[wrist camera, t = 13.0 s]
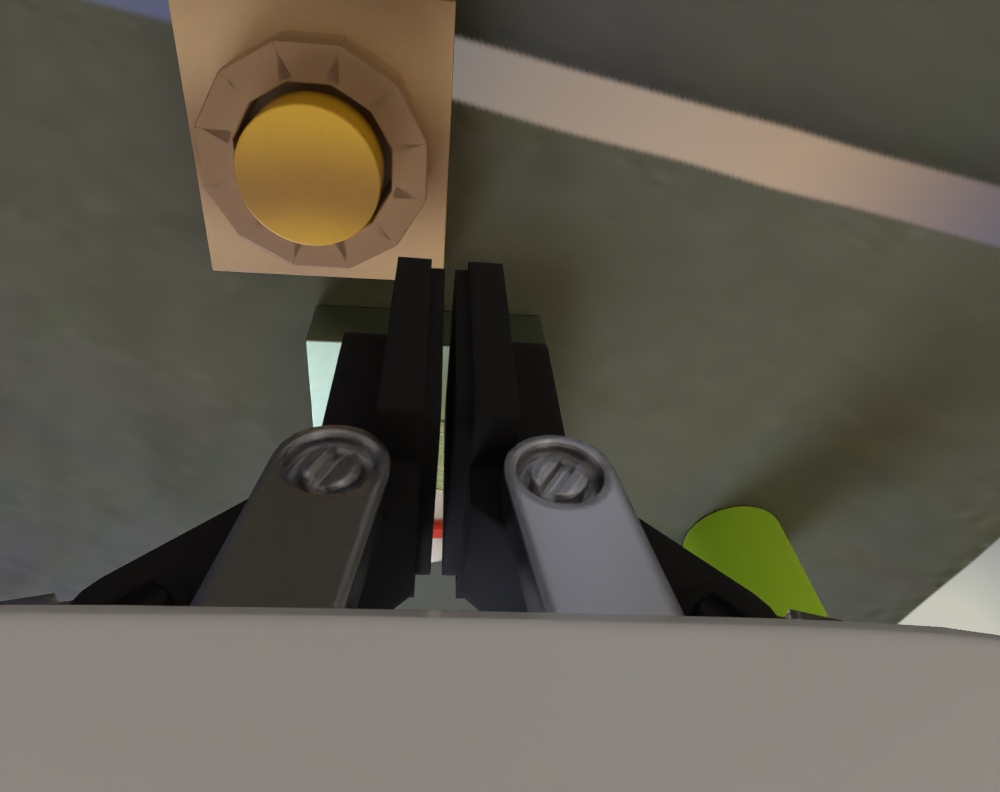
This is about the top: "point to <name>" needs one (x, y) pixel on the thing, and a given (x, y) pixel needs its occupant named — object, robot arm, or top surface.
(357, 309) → the dial panel
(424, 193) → the button housing
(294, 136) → the round yellow button
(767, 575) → the soap dispenser
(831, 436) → the top surface
